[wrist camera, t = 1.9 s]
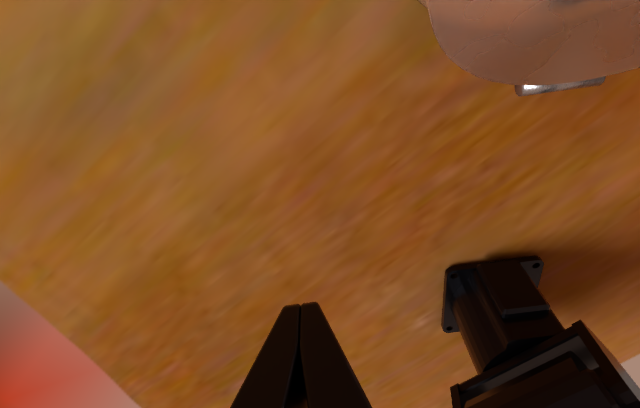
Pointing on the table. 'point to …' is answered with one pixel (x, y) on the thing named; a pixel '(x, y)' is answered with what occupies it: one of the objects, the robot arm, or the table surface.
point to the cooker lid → (539, 40)
